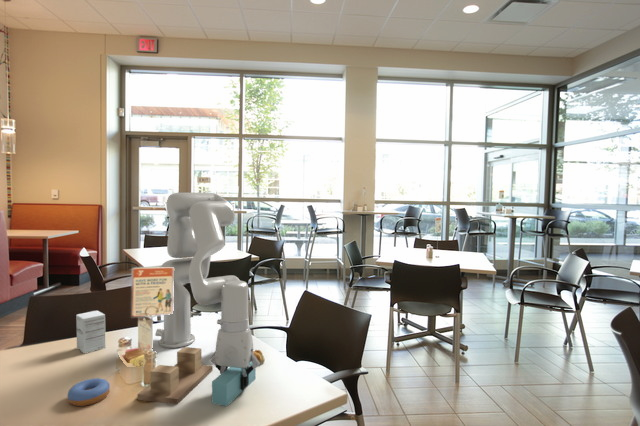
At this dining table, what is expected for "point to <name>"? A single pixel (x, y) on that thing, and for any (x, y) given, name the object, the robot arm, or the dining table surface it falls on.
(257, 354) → the pastry
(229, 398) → the pale blue rectangular prism
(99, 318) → the supplement box
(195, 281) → the robot arm
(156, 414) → the dining table surface
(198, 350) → the display stand
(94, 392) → the doughnut
